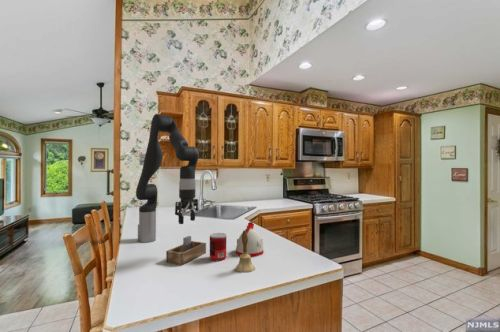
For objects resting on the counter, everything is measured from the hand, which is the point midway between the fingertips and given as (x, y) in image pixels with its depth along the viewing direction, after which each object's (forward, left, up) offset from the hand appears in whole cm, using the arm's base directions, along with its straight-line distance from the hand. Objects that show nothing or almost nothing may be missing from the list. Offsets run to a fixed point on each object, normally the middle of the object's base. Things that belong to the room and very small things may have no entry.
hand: (187, 222), depth 120 cm
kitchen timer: (+24, +19, -17) cm, 35 cm away
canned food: (+14, +5, -17) cm, 23 cm away
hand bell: (+31, -1, -17) cm, 35 cm away
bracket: (0, 0, -16) cm, 16 cm away
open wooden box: (0, 0, -17) cm, 17 cm away
